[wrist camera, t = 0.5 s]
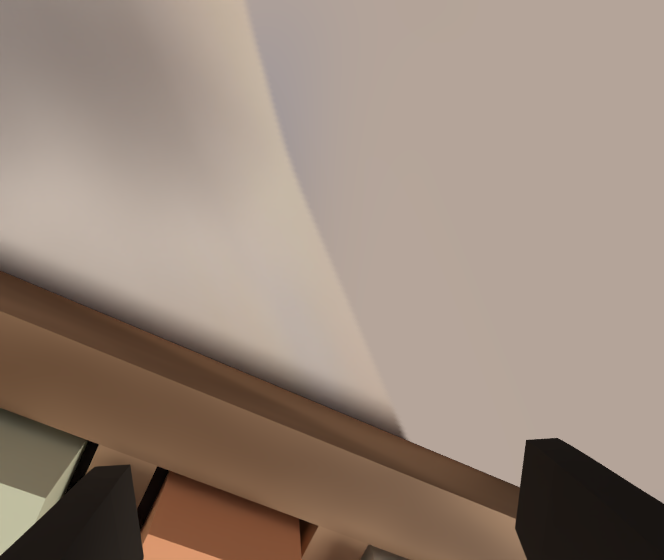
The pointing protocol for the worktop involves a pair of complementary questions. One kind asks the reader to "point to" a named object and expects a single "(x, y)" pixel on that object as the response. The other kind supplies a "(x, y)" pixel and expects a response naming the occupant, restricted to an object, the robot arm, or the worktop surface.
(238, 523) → the salmon pink cube
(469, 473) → the slotted board
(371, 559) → the ivory cube
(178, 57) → the worktop surface
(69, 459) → the block
